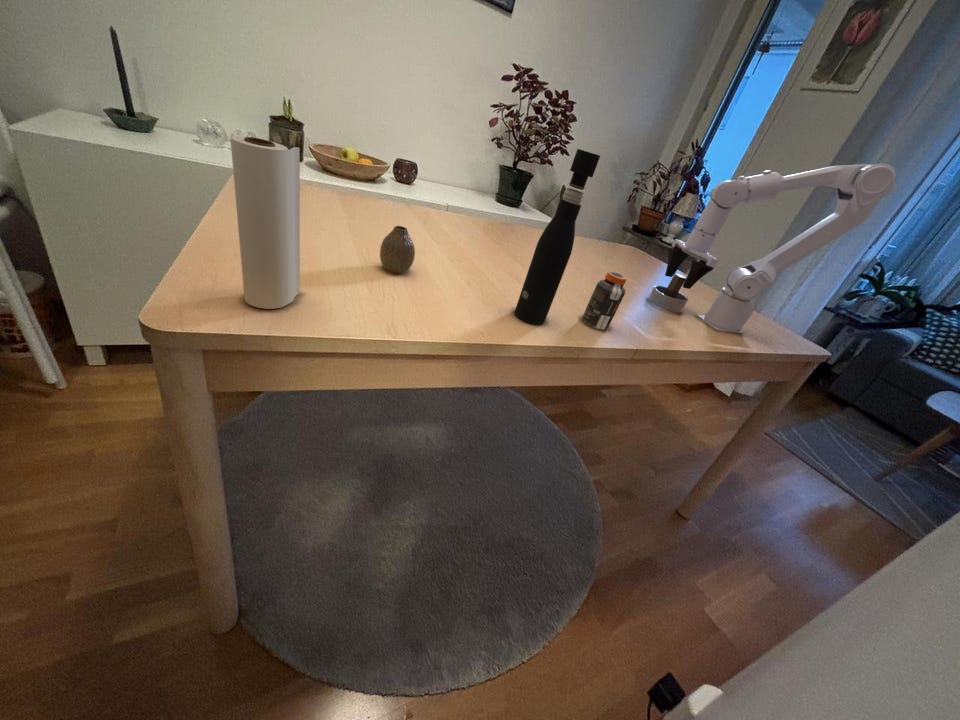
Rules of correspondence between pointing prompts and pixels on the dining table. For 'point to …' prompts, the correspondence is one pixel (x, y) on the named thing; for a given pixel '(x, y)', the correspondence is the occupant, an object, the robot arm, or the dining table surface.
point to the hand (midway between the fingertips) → (677, 281)
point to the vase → (397, 251)
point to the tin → (667, 300)
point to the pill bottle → (605, 301)
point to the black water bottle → (555, 246)
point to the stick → (675, 285)
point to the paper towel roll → (268, 219)
